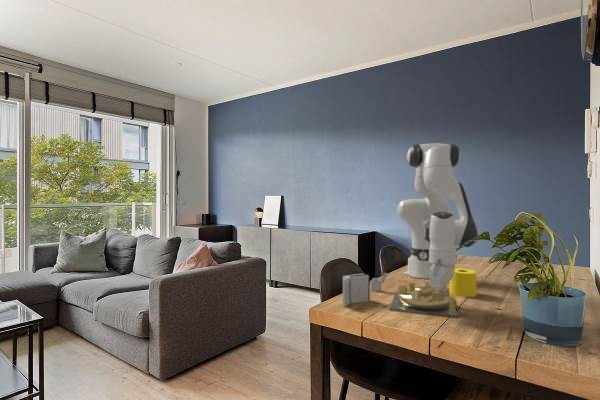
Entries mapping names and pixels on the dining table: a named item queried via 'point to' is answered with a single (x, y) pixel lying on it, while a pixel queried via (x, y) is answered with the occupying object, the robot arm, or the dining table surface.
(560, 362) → the dining table surface
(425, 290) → the gold radial fin assembly
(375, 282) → the grey angled block
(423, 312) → the base plate
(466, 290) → the yellow toilet paper roll
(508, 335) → the dining table surface
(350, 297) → the grey and black block
